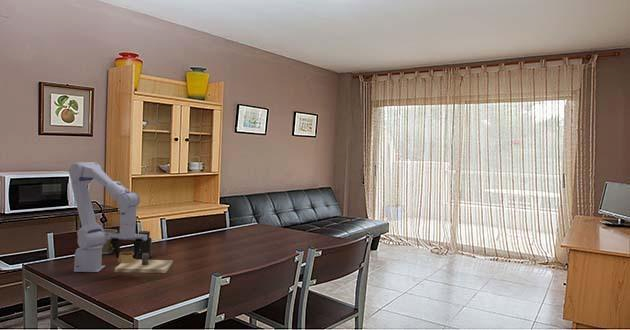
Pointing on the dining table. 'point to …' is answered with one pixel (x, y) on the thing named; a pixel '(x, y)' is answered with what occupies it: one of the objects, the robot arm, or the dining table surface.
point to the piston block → (145, 265)
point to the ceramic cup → (108, 242)
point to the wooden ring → (126, 257)
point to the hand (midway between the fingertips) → (126, 257)
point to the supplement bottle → (145, 245)
